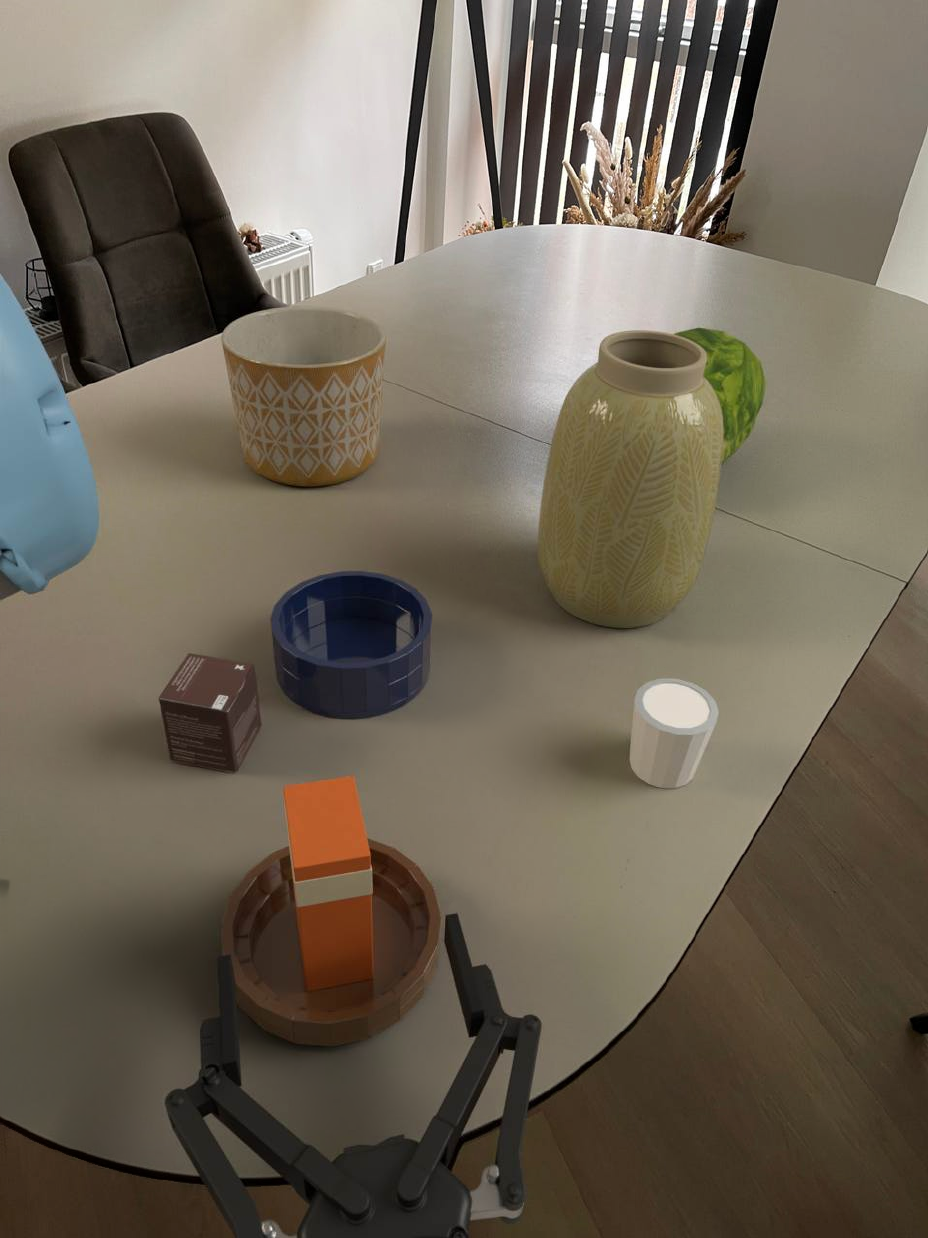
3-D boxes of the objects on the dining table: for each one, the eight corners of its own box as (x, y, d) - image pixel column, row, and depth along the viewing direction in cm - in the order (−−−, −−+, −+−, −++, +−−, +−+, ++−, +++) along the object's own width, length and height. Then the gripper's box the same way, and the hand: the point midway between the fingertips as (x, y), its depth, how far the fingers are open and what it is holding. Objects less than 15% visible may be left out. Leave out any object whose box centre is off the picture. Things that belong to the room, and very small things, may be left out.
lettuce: (640, 545, 121) (565, 447, 115) (688, 442, 136) (623, 351, 130) (755, 502, 110) (679, 391, 104) (794, 395, 124) (729, 292, 118)
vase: (661, 543, 110) (707, 313, 94) (717, 634, 97) (783, 385, 80) (516, 551, 107) (538, 316, 91) (553, 647, 94) (587, 391, 78)
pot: (283, 729, 83) (278, 678, 79) (269, 628, 94) (264, 578, 91) (445, 707, 86) (448, 657, 83) (413, 611, 98) (414, 563, 94)
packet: (305, 993, 63) (292, 869, 55) (295, 910, 68) (282, 785, 60) (374, 979, 64) (371, 855, 56) (359, 898, 69) (354, 774, 61)
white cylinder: (703, 800, 79) (720, 740, 74) (620, 787, 80) (633, 726, 75) (701, 742, 84) (717, 683, 80) (624, 730, 85) (636, 671, 81)
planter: (256, 507, 112) (243, 375, 102) (220, 437, 126) (205, 314, 116) (408, 480, 119) (409, 354, 109) (358, 416, 133) (355, 299, 123)
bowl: (233, 1074, 59) (227, 1045, 57) (222, 884, 70) (216, 853, 68) (460, 1026, 62) (463, 996, 60) (415, 851, 73) (416, 821, 71)
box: (199, 714, 84) (188, 650, 80) (263, 726, 83) (256, 662, 79) (168, 763, 79) (155, 697, 75) (236, 776, 79) (227, 711, 74)
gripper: (124, 1478, 41) (136, 1022, 57) (660, 1321, 46) (532, 945, 62) (90, 1431, 36) (114, 949, 52) (689, 1263, 42) (543, 873, 58)
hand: (341, 946), depth 57 cm, fingers open, 13 cm apart
